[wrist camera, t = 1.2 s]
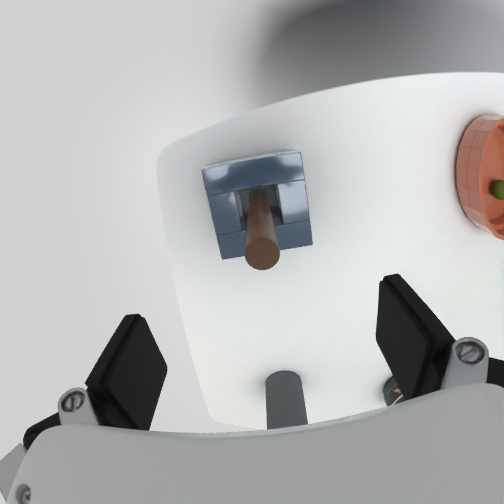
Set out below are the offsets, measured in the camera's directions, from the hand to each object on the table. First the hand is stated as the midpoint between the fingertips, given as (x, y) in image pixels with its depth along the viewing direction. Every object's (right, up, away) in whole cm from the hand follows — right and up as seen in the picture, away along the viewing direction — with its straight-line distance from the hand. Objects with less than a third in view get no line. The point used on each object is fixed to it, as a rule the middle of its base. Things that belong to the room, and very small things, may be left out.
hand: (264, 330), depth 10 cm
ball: (+35, +12, +17) cm, 41 cm away
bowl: (+35, +15, +18) cm, 42 cm away
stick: (0, +9, +21) cm, 22 cm away
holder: (0, +9, +21) cm, 22 cm away
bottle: (+5, -18, +32) cm, 37 cm away
